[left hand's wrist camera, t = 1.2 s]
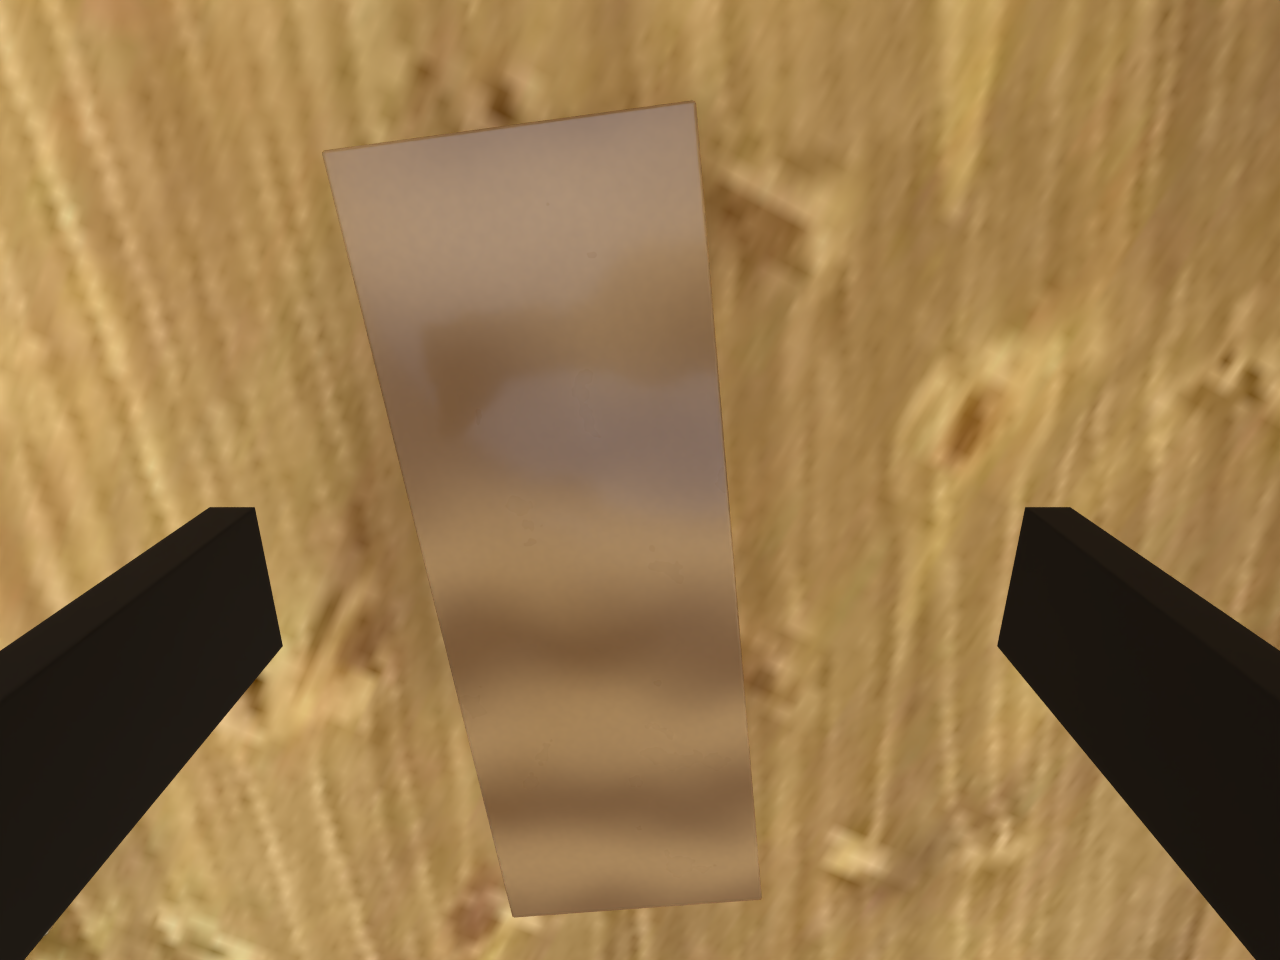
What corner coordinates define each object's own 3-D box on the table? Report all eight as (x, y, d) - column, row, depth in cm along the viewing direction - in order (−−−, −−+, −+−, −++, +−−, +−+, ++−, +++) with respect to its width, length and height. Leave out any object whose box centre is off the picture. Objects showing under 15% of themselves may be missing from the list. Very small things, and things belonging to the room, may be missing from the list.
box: (445, 173, 26) (319, 150, 16) (679, 142, 25) (696, 99, 16) (552, 717, 34) (512, 918, 24) (730, 701, 34) (761, 900, 24)
